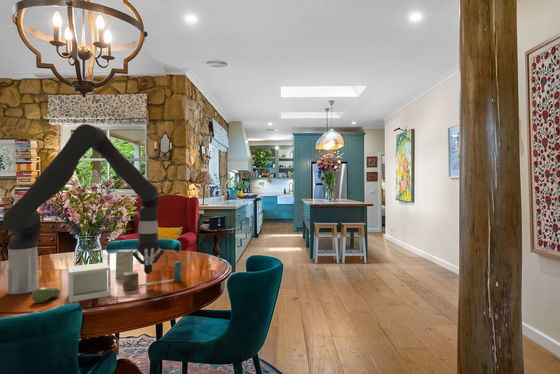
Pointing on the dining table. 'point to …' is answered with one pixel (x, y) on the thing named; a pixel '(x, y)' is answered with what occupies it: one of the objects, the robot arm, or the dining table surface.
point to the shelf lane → (87, 281)
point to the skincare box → (123, 262)
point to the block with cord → (132, 283)
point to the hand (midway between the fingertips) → (148, 273)
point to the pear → (45, 294)
